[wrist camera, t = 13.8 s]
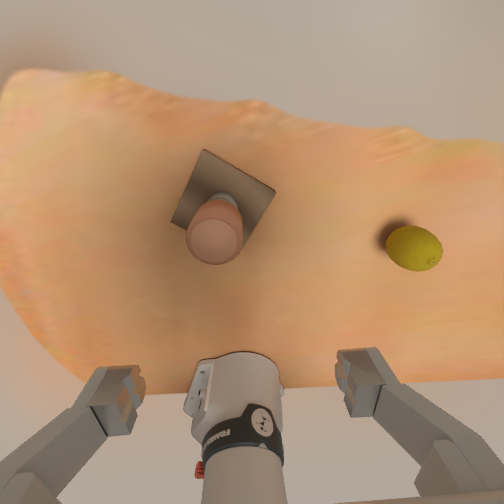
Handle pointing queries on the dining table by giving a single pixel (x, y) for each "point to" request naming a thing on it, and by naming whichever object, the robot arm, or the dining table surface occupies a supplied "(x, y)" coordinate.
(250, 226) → the stud base
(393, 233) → the lemon
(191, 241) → the cap
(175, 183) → the dining table surface
